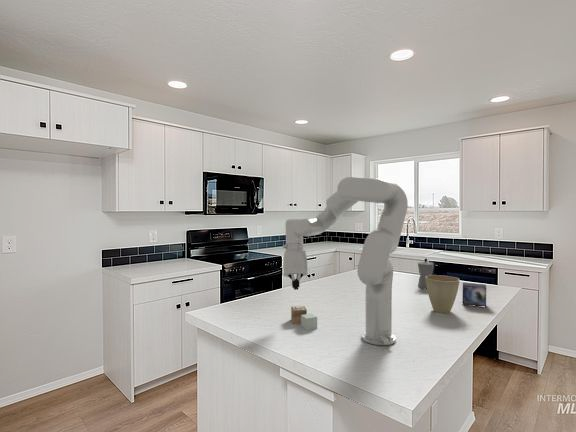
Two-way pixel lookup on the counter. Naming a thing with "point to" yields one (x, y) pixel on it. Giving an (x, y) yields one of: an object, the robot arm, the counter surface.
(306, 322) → the sage block
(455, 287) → the plant pot
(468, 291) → the picture frame
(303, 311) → the walnut block
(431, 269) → the coffeepot
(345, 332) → the counter surface
